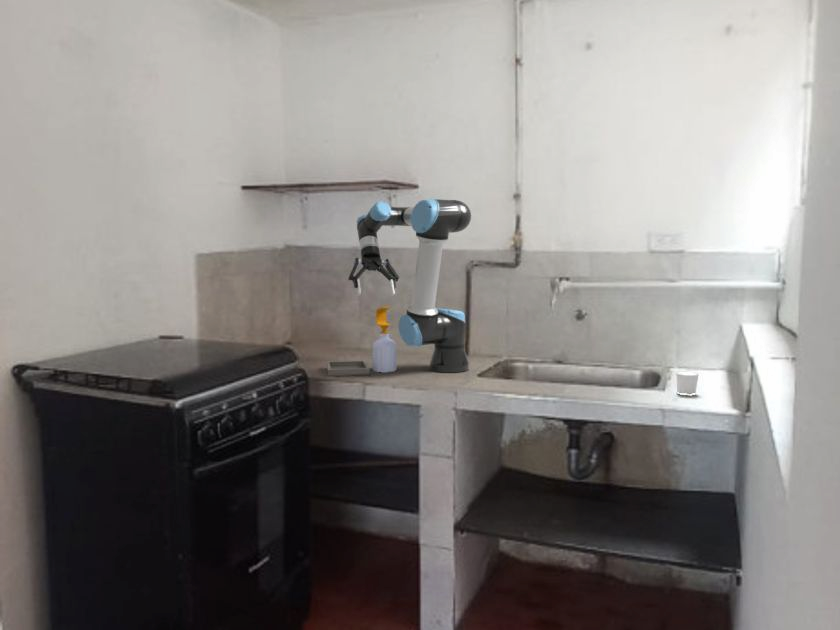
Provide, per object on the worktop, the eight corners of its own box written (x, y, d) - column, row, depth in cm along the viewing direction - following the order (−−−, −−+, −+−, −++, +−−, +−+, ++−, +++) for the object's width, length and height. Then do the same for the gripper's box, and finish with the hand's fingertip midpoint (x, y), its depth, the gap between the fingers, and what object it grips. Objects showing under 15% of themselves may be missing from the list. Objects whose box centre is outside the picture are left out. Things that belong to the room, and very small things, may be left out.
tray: (365, 367, 277) (365, 360, 277) (369, 375, 262) (369, 368, 261) (326, 368, 275) (326, 361, 274) (328, 376, 259) (328, 369, 259)
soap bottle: (379, 373, 264) (379, 308, 261) (368, 369, 272) (368, 305, 269) (400, 371, 269) (400, 306, 266) (389, 367, 277) (389, 304, 274)
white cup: (699, 397, 230) (700, 375, 229) (677, 396, 231) (678, 374, 230) (694, 392, 237) (696, 371, 236) (673, 391, 238) (674, 370, 237)
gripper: (396, 256, 294) (404, 300, 284) (337, 254, 286) (343, 299, 276) (401, 245, 288) (409, 290, 278) (341, 243, 280) (347, 289, 270)
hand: (376, 295), depth 277 cm, fingers open, 13 cm apart
